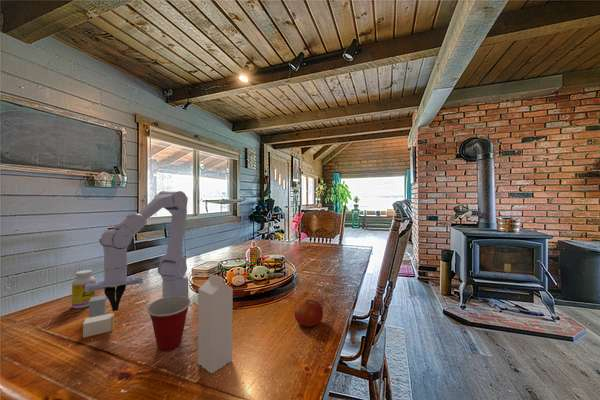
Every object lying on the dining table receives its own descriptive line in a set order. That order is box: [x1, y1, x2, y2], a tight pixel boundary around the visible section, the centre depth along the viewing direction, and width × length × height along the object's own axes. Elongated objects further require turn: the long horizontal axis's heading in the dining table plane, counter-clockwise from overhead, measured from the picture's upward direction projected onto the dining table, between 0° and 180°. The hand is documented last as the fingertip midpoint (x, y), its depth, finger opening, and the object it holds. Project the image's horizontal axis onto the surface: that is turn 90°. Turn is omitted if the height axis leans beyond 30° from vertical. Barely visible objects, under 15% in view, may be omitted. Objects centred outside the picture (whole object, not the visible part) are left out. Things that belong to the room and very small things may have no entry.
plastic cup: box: [146, 295, 192, 352], centre depth 68 cm, size 11×11×12 cm
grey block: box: [88, 294, 107, 318], centre depth 82 cm, size 4×4×7 cm
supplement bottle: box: [71, 269, 96, 309], centre depth 92 cm, size 7×7×13 cm
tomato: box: [294, 298, 324, 327], centre depth 80 cm, size 9×9×8 cm
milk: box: [197, 273, 234, 375], centre depth 61 cm, size 6×6×22 cm
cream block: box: [82, 312, 115, 338], centre depth 75 cm, size 4×4×7 cm
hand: (115, 309), depth 77 cm, fingers closed
